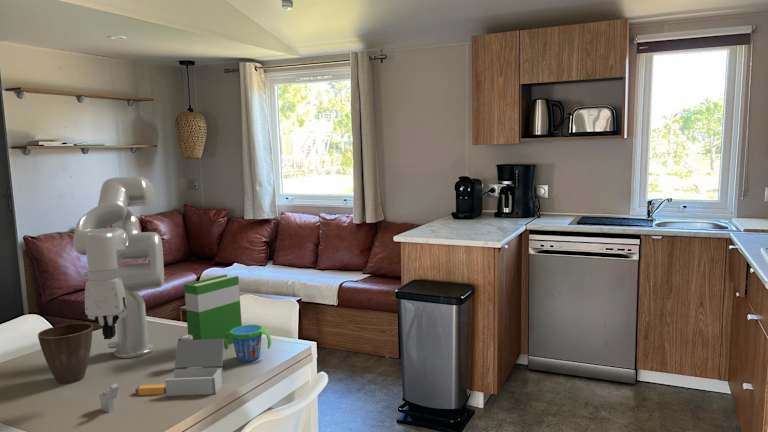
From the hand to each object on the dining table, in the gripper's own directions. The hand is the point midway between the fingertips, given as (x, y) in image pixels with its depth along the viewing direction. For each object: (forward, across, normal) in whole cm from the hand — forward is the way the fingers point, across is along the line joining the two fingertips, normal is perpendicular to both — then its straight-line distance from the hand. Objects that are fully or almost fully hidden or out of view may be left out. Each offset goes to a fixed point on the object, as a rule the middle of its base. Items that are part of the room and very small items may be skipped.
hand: (109, 337), depth 161 cm
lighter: (+17, +4, -11) cm, 21 cm away
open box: (+17, +23, +1) cm, 29 cm away
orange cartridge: (+17, +11, 0) cm, 20 cm away
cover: (+8, +23, +7) cm, 25 cm away
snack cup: (+17, +33, +25) cm, 45 cm away
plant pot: (+17, -20, +13) cm, 29 cm away
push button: (+17, +14, +20) cm, 30 cm away
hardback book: (+17, +18, +40) cm, 47 cm away
